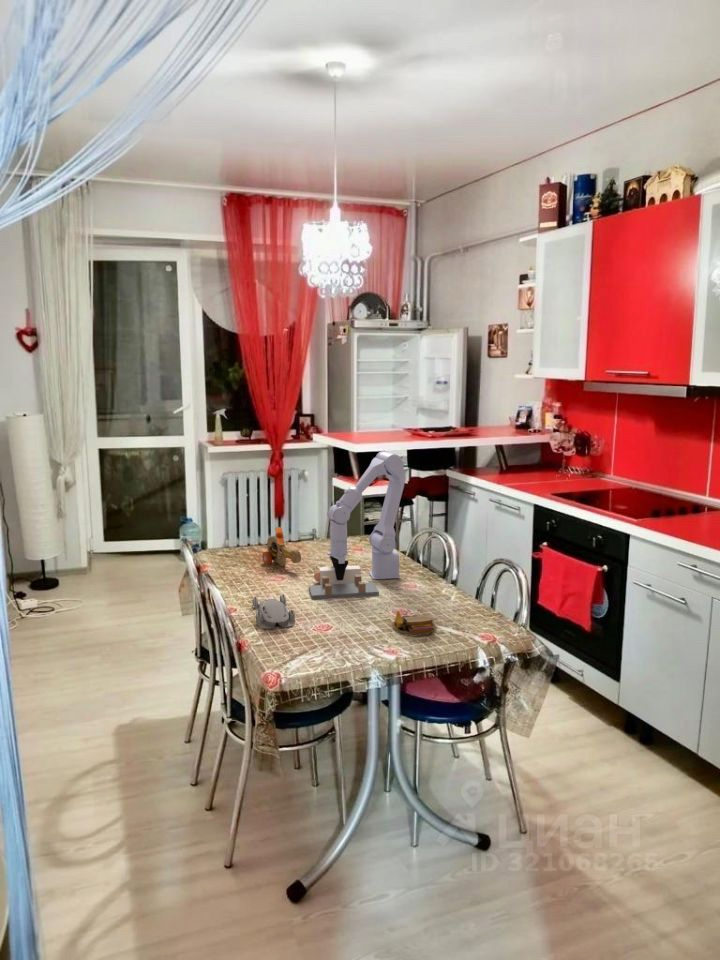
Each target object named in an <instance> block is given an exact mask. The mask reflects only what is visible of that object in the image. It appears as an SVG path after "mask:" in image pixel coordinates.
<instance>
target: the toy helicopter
mask: <svg viewBox="0 0 720 960" xmlns="http://www.w3.org/2000/svg"><path fill="white" fill-rule="evenodd" d="M274 530H275V531H274V532H275V534H274V535H273V536H269V537H268V538H267V544H266V548H267V551H264V552H263V553H262V555H261V558H262V562H263V564H264V565H266V564H268V565H271V564H272V562H274V563H276V564H278V565H279V567H283V566H286V564H287V559H289V560H290V561H291V562H292V563H293V564H299V563H301V560H302V555H301V552H300V551H299V550H298V549H293V550H292V549H290V548H289V547H287V546H286V544H285V535H284V533H283V528H282V527H280V526H276V527H274Z"/></svg>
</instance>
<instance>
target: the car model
mask: <svg viewBox="0 0 720 960" xmlns="http://www.w3.org/2000/svg"><path fill="white" fill-rule="evenodd" d="M286 605H287V597H286V594H280V595H279V600H278V599H274V598H268V599H264V600H263V601H261V602H259V598H258V596H253V597H252V607H253V606H254V607H253V609H254V608H255V609H254V610H256V609H257V610H256V613H255V622H256V623H257V624H256V623H255V624H256V626H257V625H258V626H257V627H259V628H260V627H261V629H262V630H273V629H274V628H277V627H279V628H283V629H285V628H291V627H293V626H294V624H295V622H296V616H295V615H296V614H295V610H293V609H290V610H288V609H287V606H286ZM257 611H258V612H257Z"/></svg>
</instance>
